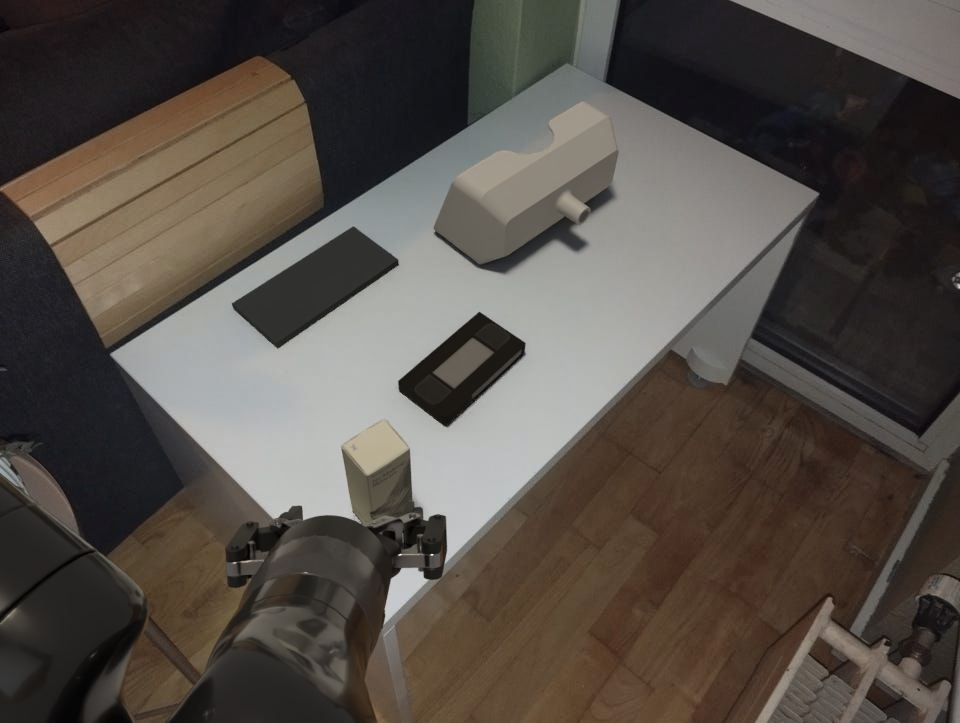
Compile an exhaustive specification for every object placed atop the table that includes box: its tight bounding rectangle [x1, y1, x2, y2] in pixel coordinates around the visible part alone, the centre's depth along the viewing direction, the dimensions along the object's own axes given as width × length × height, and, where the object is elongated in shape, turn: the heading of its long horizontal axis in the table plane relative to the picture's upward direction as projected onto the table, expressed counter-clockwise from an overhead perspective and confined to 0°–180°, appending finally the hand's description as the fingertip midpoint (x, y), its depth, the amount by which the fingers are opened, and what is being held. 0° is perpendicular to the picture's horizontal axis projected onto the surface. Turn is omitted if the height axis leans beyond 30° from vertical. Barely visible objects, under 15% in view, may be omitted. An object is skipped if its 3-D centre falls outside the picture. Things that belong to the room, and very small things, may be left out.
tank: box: [432, 100, 620, 265], centre depth 103 cm, size 25×16×12 cm, turn 134°
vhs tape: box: [397, 311, 526, 427], centre depth 91 cm, size 8×14×2 cm, turn 139°
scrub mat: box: [231, 226, 400, 349], centre depth 99 cm, size 20×9×1 cm, turn 137°
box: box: [340, 418, 414, 535], centre depth 75 cm, size 5×4×13 cm
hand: (354, 516), depth 59 cm, fingers open, 8 cm apart
